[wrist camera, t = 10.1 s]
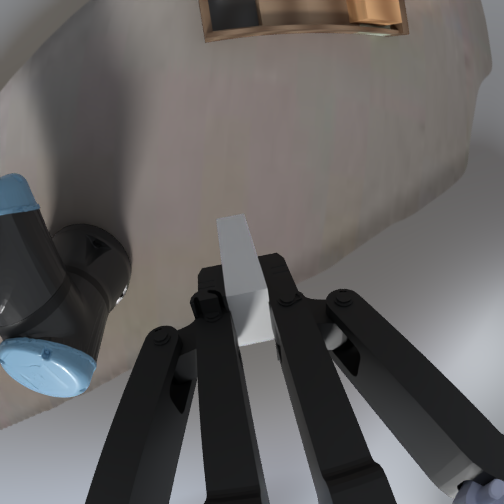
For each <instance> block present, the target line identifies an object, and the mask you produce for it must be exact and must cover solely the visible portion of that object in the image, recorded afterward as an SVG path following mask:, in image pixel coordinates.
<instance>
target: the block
mask: <svg viewBox="0 0 504 504" xmlns="http://www.w3.org/2000/svg"><path fill="white" fill-rule="evenodd" d="M346 3H347V9H348V15H349V22H350V23H352V24H365V25H376V26H386V25H391V24H397V23H402V19H401V12H400V6H399V0H346Z"/></svg>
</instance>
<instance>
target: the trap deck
mask: <svg viewBox="0 0 504 504" xmlns="http://www.w3.org/2000/svg"><path fill="white" fill-rule="evenodd" d="M199 6H200V12H201V19H202V25H203V31H204V37H205V43H206V42H212V41H219V40H225V39H233V38H241V37H250V36H260V35H272V34H290V33H349V34H366V35H378V36H397V35H407V34H409V28H408V21H407V14H406V8H405V2H404V0H399V6H400V12H401V19H402V23H397V24H391V25H386V26H376V25H365V24H352V23H350V22H349V15H348V9H347V3H346V0H199Z"/></svg>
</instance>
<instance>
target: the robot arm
mask: <svg viewBox="0 0 504 504" xmlns="http://www.w3.org/2000/svg"><path fill="white" fill-rule="evenodd" d="M39 208H40V206H39V204H37V203H36V201H35V199H34V196H33V194H32V192H31V190H30V187H29V185H28V183H27V181H26V179H25V178H24V177H23V176H22V175H20V174H17V173H11V174H8V175H5V176H2V177H0V336H1V337H2V339H3V341H2V343H1V344H0V363H1V365H2V367H3V368H4V370H5V371H6V372H7V373H8V374H9V375H10V376H11V377H12V378H13V379H15V380H16V381H17V382H19V383H20V384H22V385H24V386H25V387H27V388H29V389H31V390H33V391H36V392H39V393H42V394H45V395H49V396H54V397H73V396H77V395H79V394H81V393H83V392H84V391H85V390H86V389H87V388H88V386H89V384H90V381H91V378H92V375H93V372H94V371H95V369H96V365H97V364H96V362H97V358H98V353H99V349H100V345H101V341H102V337H103V333H104V329H105V325H106V321H107V317H108V314H109V313H110V311H111V310H112V309H113V308H114V307H115V306H116V304H118V303H119V302H120V301H121V299H122V298H123V297H124V295H125V293H126V291H127V289H128V285H129V282H130V278H131V266H130V261H129V258H128V256H127V254H126V252H125V250H124V248H123V247H122V246H121V244H120V243H119V242H118V241H117V240H116V239H115V238H114V237H113V236H112V235H110V234H109V233H107V232H106V231H104V230H102V229H100V228H98V227H95V226H91V225H86V224H75V225H70V226H67V227H65V228H63V229H61V230H60V231H58V232H57V233H56V234H55V235H54V237H53V238H51V236H50V234H49V232H48V229H47V227H46V224H45V222H44V220H43V217H42V215H41V212H40V210H39ZM216 220H217V229H218V237H219V245H220V253H221V261H222V265H217V266H212V267H207V268H202V269H201V271H200V273H199V275H198V292H197V293H195V294H194V295H193V296H192V297H191V300H190V305H191V307H192V310H193V313H194V316H195V320H194V322H192V323H191V324H190V325H188V326H186V327H184V328H182V329H180V330H176V329H175V328H173V327H172V326H160V327H157V328H155V329H153V330H152V331H151V332H150V333H149V334H148V335H147V337H146V338H145V341H144V343H143V346H142V348H141V350H140V353H139V355H138V358H137V360H136V362H135V365H134V367H133V370H132V373H131V375H130V378H129V380H128V383H127V385H126V388H125V390H124V393H123V395H122V398H121V400H120V403H119V406H118V409H117V411H116V414H115V416H114V419H113V422H112V425H111V427H110V430H109V433H108V436H107V438H106V441H105V444H104V447H103V450H102V453H101V456H100V459H99V462H98V465H97V468H96V471H95V474H94V477H93V480H92V483H91V486H90V489H89V493H88V496H87V499H86V502H85V504H169V500H170V495H171V491H172V486H173V482H174V477H175V473H176V468H177V463H178V459H179V455H180V450H181V446H182V441H183V437H184V433H185V429H186V424H187V420H188V416H189V412H190V407H191V403H192V399H193V395H194V391H195V386H196V382H197V377H198V393H199V411H200V424H201V438H202V450H203V461H204V472H205V481H206V491H207V498H206V501H205V503H204V504H270V503H269V498H268V493H267V489H266V484H265V479H264V474H263V469H262V464H261V460H260V455H259V449H258V444H257V439H256V434H255V429H254V423H253V419H252V413H251V408H250V402H249V397H248V392H247V386H246V381H245V375H244V369H243V363H242V358H241V353H240V350H239V346H244V345H249V344H254V343H259V342H264V341H268V340H273V339H274V337H275V341H276V349H277V357H278V360H280V363H281V367H282V371H283V374H284V378H285V381H286V385H287V389H288V392H289V396H290V400H291V403H292V407H293V410H294V414H295V417H296V421H297V425H298V428H299V432H300V435H301V439H302V443H303V446H304V450H305V453H306V457H307V461H308V464H309V468H310V471H311V475H312V478H313V482H314V485H315V489H316V493H317V497H318V502H319V504H397V503H396V501H395V498H394V495H393V493H392V490H391V487H390V485H389V482H388V480H387V477H386V475H385V473H384V470H383V469H382V467H381V466H380V465H379V464H378V463H376V462H374V460H373V459H372V457H371V454H370V452H369V449H368V447H367V444H366V442H365V439H364V436H363V434H362V431H361V429H360V426H359V424H358V422H357V419H356V417H355V414H354V412H353V409H352V407H351V404H350V402H349V399H348V397H347V394H346V392H345V390H344V387H343V385H342V383H341V380H340V378H339V375H338V373H337V370H336V368H335V366H334V363H333V361H334V362H335V363H336V364H337V366H338V367H339V368H340V369H341V371H342V372H343V373H344V374H345V375H346V377H347V378H348V379H349V380H350V382H351V383H352V384H353V385H354V387H355V388H356V389H357V390H358V392H359V393H360V394H361V395H362V396H363V398H364V399H365V400H366V401H367V403H368V404H369V405H370V406H371V408H372V409H373V410H374V411H375V412H376V414H377V415H378V416H379V417H380V419H381V420H382V421H383V422H384V423H385V425H386V426H387V427H388V428H389V430H391V432H392V433H393V434H394V436H395V437H396V438H397V439H398V441H399V442H400V443H401V444H402V446H403V447H404V448H405V449H406V450H407V452H408V453H409V454H410V455H411V457H412V458H413V459H414V460H415V461H416V463H417V464H418V465H419V466H420V468H421V469H422V470H423V471H424V472H425V474H426V475H427V476H428V477H429V479H430V480H431V481H432V482H433V483H434V484H435V485H436V486H437V487H438V488H439V489H440V490H441V491H443V492H444V493H445V494H446V495H448V496H449V497H451V498H453V499H454V501H453V504H504V435H503V434H501V433H500V432H499V431H498V430H497V429H496V428H495V427H494V426H493V425H492V423H491V422H490V421H489V420H488V419H487V418H486V417H485V416H484V415H483V414H482V413H481V412H480V411H479V410H478V409H477V408H476V407H475V406H474V405H473V404H472V403H471V402H470V401H469V400H468V399H467V398H466V397H465V396H464V395H463V394H462V393H461V392H460V391H459V390H458V389H457V388H456V387H455V386H454V385H453V384H452V383H451V382H450V381H449V380H448V379H447V378H446V377H445V376H444V375H443V374H442V373H441V372H440V371H439V370H438V369H437V368H436V367H435V366H434V365H433V364H432V363H431V362H430V361H429V360H428V359H427V358H426V357H425V356H424V355H423V354H422V353H421V352H419V351H418V350H417V349H416V348H415V347H414V346H413V345H412V344H411V343H410V342H409V341H408V340H407V339H406V338H405V337H404V336H403V335H402V334H401V333H400V332H399V331H397V330H396V329H395V328H394V327H393V326H392V325H391V324H390V323H389V322H388V321H387V320H386V319H385V318H383V317H382V316H381V315H380V314H379V313H378V312H377V311H376V310H375V309H374V308H373V307H372V306H371V305H369V304H368V303H367V302H366V301H365V300H364V299H363V298H362V297H360V295H358V294H357V293H356V292H354V291H352V290H348V289H338V290H335V291H333V292H331V293H330V294H329V295H328V296H327V298H326V300H317V299H316V300H315V299H310V298H306V297H305V296H304V295H303V294H302V293H301V292H299V291H298V289H297V287H296V285H295V283H294V280H293V278H292V276H291V273H290V271H289V269H288V267H287V264H286V262H285V260H284V258H283V257H282V256H280V255H279V254H278V253H273V254H268V255H263V256H258V257H257V253H256V250H255V247H254V244H253V241H252V237H251V234H250V231H249V228H248V225H247V222H246V218H245V215H244V214H239V215H234V216H229V217H224V218H219V219H216ZM331 358H332V359H331ZM332 360H333V361H332Z"/></svg>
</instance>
